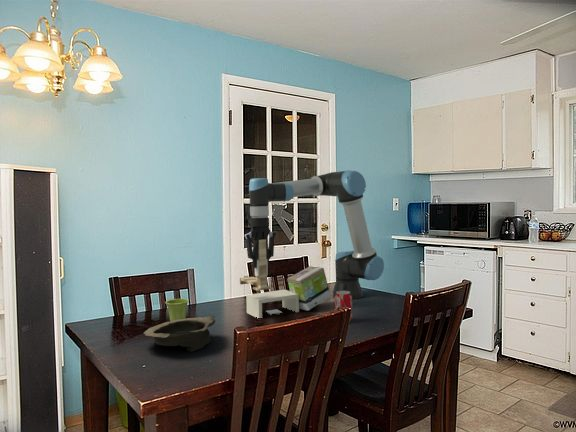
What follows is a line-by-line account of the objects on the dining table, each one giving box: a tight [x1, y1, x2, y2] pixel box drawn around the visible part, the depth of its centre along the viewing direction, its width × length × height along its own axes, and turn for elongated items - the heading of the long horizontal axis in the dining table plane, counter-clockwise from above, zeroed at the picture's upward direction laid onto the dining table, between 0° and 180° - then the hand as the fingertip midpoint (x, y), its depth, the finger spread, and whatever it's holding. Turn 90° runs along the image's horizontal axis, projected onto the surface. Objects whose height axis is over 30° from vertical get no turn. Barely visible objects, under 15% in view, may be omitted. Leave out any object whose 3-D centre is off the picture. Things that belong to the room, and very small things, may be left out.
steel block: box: [265, 308, 283, 316], centre depth 196 cm, size 6×6×1 cm
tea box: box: [287, 266, 332, 311], centre depth 202 cm, size 15×10×15 cm, turn 130°
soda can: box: [334, 291, 353, 322], centre depth 181 cm, size 7×7×12 cm
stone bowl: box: [143, 315, 216, 353], centre depth 155 cm, size 25×25×9 cm
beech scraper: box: [239, 239, 272, 292], centre depth 183 cm, size 16×6×20 cm, turn 30°
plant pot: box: [165, 298, 189, 322], centre depth 185 cm, size 9×9×9 cm
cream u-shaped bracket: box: [245, 289, 300, 319], centre depth 197 cm, size 20×12×8 cm, turn 121°
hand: (261, 275), depth 178 cm, fingers closed on beech scraper, 3 cm apart
